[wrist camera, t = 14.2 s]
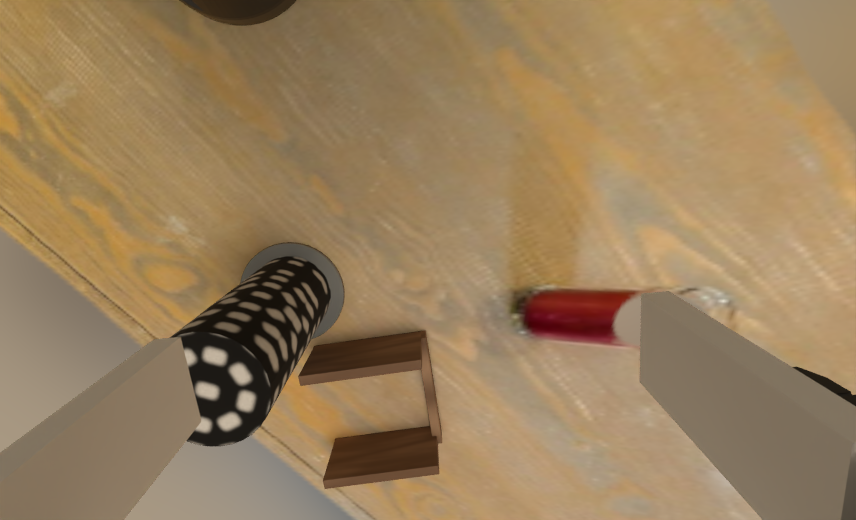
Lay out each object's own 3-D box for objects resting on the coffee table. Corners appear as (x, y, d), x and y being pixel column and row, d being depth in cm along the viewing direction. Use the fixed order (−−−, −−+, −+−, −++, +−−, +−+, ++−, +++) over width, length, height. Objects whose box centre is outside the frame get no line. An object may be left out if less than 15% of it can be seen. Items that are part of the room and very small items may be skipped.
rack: (314, 345, 52) (298, 376, 45) (425, 330, 51) (425, 359, 45) (337, 446, 55) (324, 488, 48) (441, 432, 55) (444, 473, 48)
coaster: (231, 250, 49) (228, 251, 48) (333, 235, 49) (332, 236, 48) (255, 345, 52) (253, 347, 51) (352, 332, 51) (352, 334, 51)
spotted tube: (245, 317, 50) (133, 428, 31) (262, 246, 48) (153, 316, 29) (320, 338, 51) (256, 459, 32) (339, 269, 49) (284, 352, 30)
